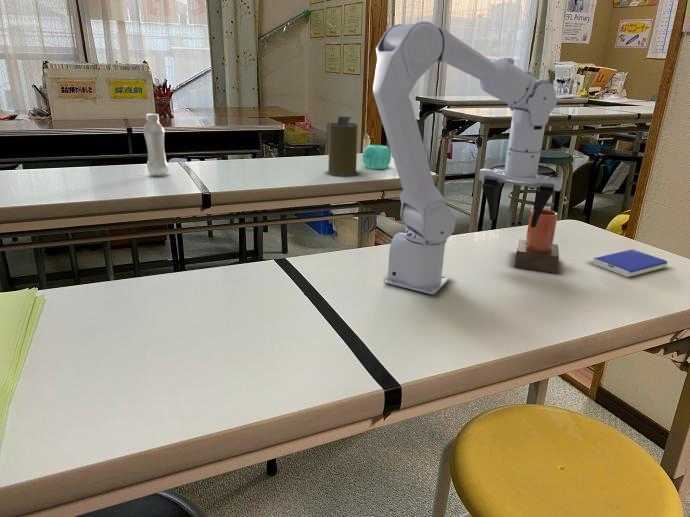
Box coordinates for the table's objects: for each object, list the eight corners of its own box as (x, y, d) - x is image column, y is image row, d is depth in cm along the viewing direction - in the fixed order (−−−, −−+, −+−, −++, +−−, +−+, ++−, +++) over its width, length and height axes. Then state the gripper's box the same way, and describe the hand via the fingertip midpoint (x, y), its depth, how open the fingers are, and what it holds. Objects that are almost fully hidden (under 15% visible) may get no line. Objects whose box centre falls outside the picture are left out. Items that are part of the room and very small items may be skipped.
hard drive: (630, 248, 112) (593, 256, 107) (668, 260, 106) (630, 270, 100) (629, 255, 113) (592, 264, 107) (666, 267, 106) (628, 277, 101)
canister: (359, 171, 189) (361, 115, 182) (352, 177, 180) (354, 118, 173) (331, 169, 192) (332, 114, 185) (323, 174, 182) (323, 116, 175)
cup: (528, 251, 103) (534, 215, 100) (522, 243, 108) (528, 208, 105) (554, 252, 102) (561, 216, 100) (547, 244, 107) (553, 209, 105)
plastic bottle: (165, 177, 170) (159, 115, 163) (145, 177, 170) (138, 114, 163) (171, 173, 176) (166, 113, 169) (152, 173, 176) (145, 112, 169)
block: (513, 267, 104) (516, 250, 103) (515, 254, 111) (518, 239, 110) (556, 273, 102) (559, 256, 100) (555, 260, 109) (558, 244, 107)
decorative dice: (361, 167, 197) (362, 146, 195) (373, 164, 203) (374, 144, 201) (379, 170, 193) (380, 148, 190) (390, 167, 199) (391, 146, 196)
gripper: (570, 151, 92) (556, 223, 97) (489, 143, 99) (480, 211, 104) (564, 156, 86) (550, 233, 91) (479, 147, 93) (470, 219, 98)
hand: (512, 222), depth 97 cm, fingers open, 7 cm apart
